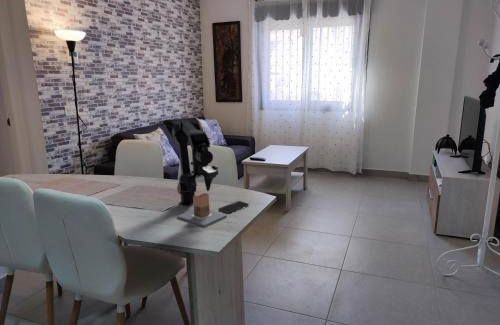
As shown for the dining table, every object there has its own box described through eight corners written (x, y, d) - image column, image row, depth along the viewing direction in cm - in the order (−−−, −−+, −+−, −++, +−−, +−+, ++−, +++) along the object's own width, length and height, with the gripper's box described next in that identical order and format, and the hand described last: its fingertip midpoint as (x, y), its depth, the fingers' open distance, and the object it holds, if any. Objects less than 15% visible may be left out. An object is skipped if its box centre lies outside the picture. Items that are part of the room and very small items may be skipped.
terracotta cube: (193, 205, 161) (192, 195, 160) (201, 202, 164) (201, 192, 163) (201, 207, 158) (200, 197, 156) (209, 204, 161) (208, 194, 160)
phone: (217, 208, 171) (238, 200, 182) (217, 211, 171) (238, 202, 182) (228, 212, 166) (250, 204, 176) (228, 215, 166) (250, 206, 177)
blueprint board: (177, 217, 163) (177, 215, 162) (199, 208, 173) (199, 206, 173) (204, 227, 152) (204, 224, 151) (226, 217, 162) (226, 214, 162)
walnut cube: (194, 215, 162) (193, 205, 161) (202, 212, 166) (201, 202, 164) (201, 218, 159) (201, 207, 158) (209, 214, 163) (209, 204, 161)
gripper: (196, 166, 144) (198, 202, 148) (226, 158, 158) (227, 191, 162) (178, 163, 151) (180, 197, 154) (208, 155, 165) (210, 187, 169)
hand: (200, 193), depth 160 cm, fingers open, 9 cm apart
